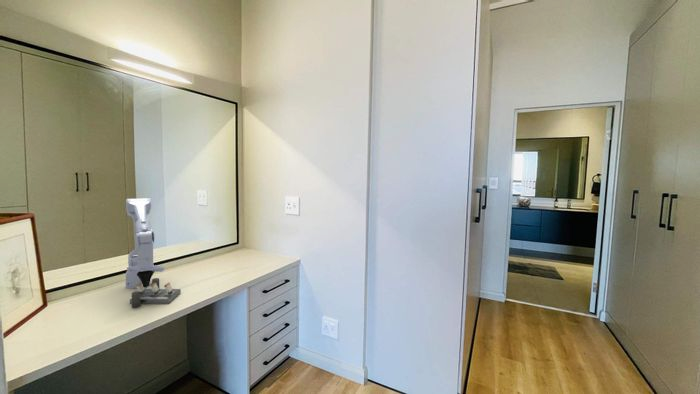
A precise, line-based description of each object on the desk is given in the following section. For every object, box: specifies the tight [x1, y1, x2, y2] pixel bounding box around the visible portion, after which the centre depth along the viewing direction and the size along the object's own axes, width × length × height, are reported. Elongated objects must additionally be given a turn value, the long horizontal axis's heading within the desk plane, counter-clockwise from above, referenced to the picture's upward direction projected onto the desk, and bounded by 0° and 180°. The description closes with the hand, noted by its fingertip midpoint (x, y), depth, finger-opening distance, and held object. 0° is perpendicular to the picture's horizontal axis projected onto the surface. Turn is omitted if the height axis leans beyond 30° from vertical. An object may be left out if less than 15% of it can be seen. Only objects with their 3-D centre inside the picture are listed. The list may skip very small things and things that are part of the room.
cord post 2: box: [151, 277, 160, 289], centre depth 139 cm, size 3×3×6 cm
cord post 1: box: [131, 290, 142, 309], centre depth 124 cm, size 3×3×6 cm
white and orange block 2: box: [149, 282, 160, 294], centre depth 132 cm, size 1×3×4 cm, turn 5°
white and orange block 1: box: [136, 282, 146, 294], centre depth 131 cm, size 1×3×4 cm, turn 5°
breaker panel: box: [129, 288, 182, 305], centre depth 132 cm, size 16×11×3 cm
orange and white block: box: [163, 282, 174, 294], centre depth 132 cm, size 1×3×4 cm, turn 5°
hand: (146, 286), depth 131 cm, fingers closed
